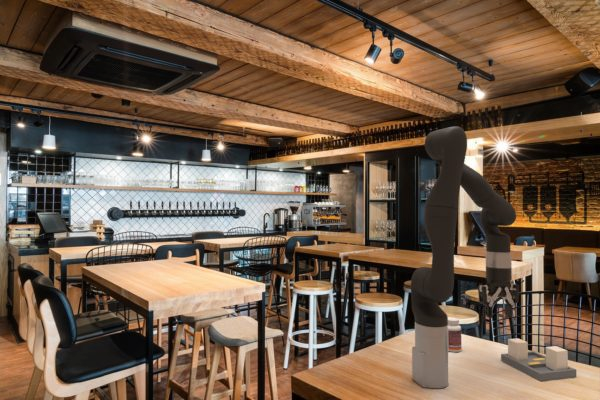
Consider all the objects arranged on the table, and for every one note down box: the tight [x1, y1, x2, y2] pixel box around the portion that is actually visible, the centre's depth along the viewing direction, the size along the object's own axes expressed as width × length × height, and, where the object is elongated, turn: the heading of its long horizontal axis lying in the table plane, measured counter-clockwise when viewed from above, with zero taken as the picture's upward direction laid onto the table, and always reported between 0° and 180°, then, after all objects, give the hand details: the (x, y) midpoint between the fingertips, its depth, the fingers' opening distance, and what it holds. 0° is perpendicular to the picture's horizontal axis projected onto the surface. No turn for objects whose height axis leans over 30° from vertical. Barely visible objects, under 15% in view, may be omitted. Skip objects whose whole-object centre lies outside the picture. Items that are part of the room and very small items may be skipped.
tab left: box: [507, 337, 529, 361], centre depth 129 cm, size 4×4×6 cm
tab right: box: [545, 345, 569, 370], centre depth 121 cm, size 4×4×6 cm
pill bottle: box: [447, 316, 463, 353], centre depth 142 cm, size 6×6×11 cm
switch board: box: [500, 350, 577, 382], centre depth 125 cm, size 13×16×2 cm
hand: (498, 316), depth 127 cm, fingers open, 6 cm apart
